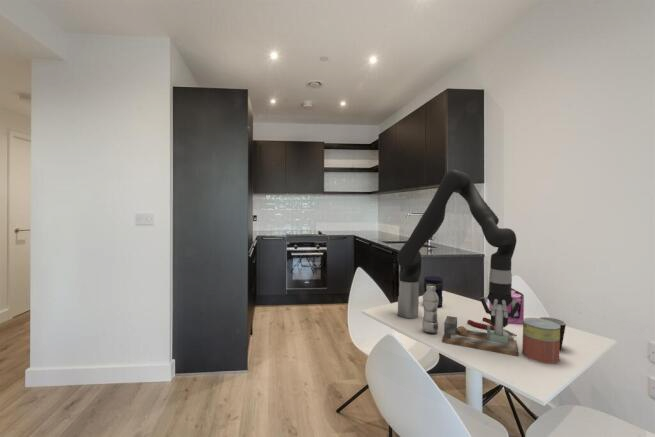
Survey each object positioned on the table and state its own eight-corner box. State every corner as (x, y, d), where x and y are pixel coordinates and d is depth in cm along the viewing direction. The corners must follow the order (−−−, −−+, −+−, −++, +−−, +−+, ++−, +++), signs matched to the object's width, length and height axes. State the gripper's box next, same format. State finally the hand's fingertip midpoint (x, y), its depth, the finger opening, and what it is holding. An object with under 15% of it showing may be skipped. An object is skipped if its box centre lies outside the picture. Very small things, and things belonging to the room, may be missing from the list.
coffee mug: (566, 353, 120) (566, 326, 119) (538, 348, 124) (538, 322, 124) (563, 342, 129) (564, 317, 129) (537, 337, 134) (538, 313, 134)
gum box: (525, 325, 148) (526, 295, 148) (506, 324, 150) (507, 295, 149) (504, 309, 172) (505, 283, 172) (488, 308, 173) (489, 283, 173)
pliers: (504, 341, 131) (504, 334, 131) (465, 324, 150) (466, 319, 150) (524, 337, 136) (524, 331, 136) (484, 321, 154) (484, 316, 154)
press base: (442, 342, 128) (442, 323, 128) (445, 332, 139) (446, 314, 139) (518, 356, 117) (519, 335, 117) (516, 344, 128) (516, 325, 127)
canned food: (528, 346, 125) (529, 315, 125) (563, 357, 117) (564, 323, 116) (517, 355, 118) (518, 322, 117) (554, 366, 109) (555, 331, 109)
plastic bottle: (430, 336, 135) (431, 287, 134) (418, 330, 141) (419, 284, 140) (441, 333, 138) (442, 286, 137) (429, 328, 144) (430, 282, 143)
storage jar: (420, 303, 182) (421, 276, 181) (437, 302, 183) (438, 276, 182) (428, 308, 172) (428, 280, 171) (445, 308, 173) (446, 280, 172)
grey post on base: (486, 343, 124) (487, 303, 123) (486, 336, 130) (487, 298, 129) (507, 346, 121) (509, 306, 120) (507, 340, 127) (508, 301, 126)
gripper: (479, 280, 124) (478, 325, 125) (522, 285, 118) (521, 332, 118) (480, 277, 131) (479, 319, 131) (520, 280, 124) (519, 325, 125)
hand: (499, 325), depth 125 cm, fingers closed on grey post on base, 3 cm apart
